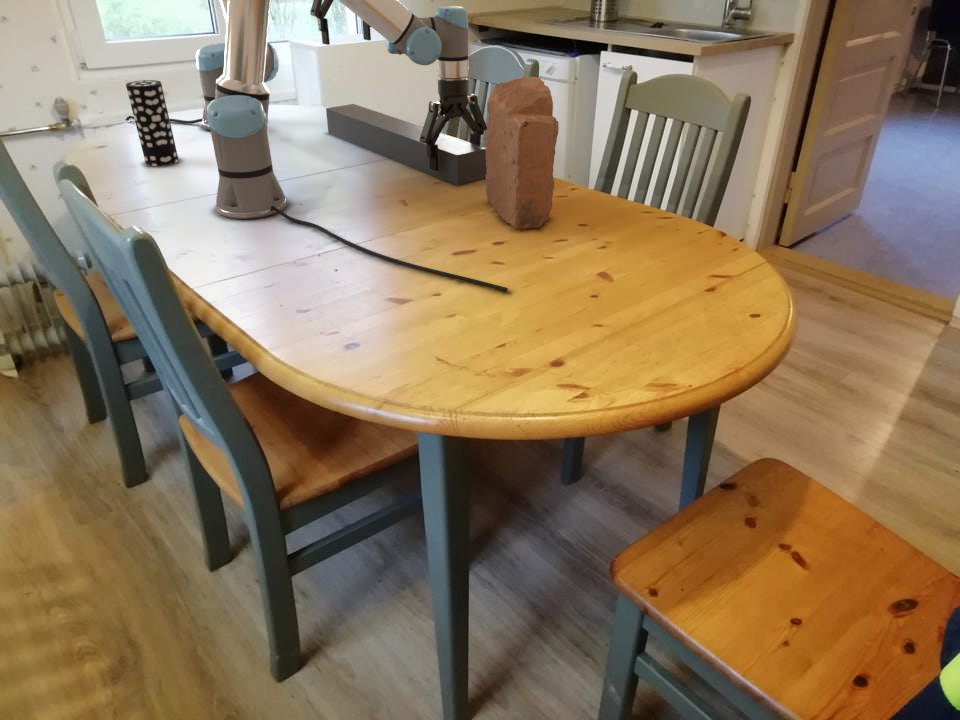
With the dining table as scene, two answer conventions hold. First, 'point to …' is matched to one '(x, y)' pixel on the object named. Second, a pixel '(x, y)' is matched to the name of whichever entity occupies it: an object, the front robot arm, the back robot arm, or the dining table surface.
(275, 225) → the dining table surface
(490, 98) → the stone
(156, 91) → the black white spotted cylinder
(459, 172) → the wide beam
